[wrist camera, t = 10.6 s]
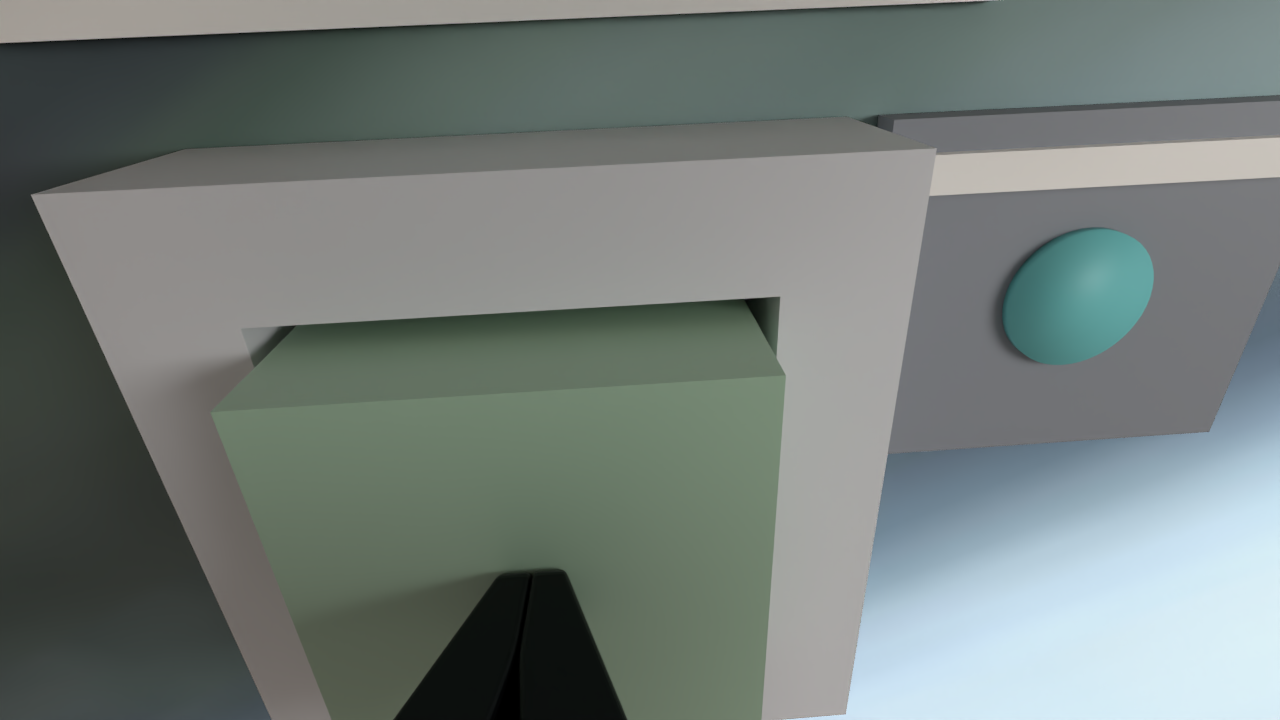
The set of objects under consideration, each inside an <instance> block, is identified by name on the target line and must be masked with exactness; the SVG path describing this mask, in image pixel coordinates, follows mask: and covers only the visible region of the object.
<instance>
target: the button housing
mask: <svg viewBox="0 0 1280 720" xmlns="http://www.w3.org/2000/svg"><path fill="white" fill-rule="evenodd" d="M936 151H937V148H934V147H932V146H929V145H926V144H923V143H920V142H917V141H915V140H912V139H909V138H906V137H903V136H900V135H898V134H895V133H892V132H889V131H886V130H883V129H881V128H878V127H875V126H872V125H869V124H866V123H864V122H861V121H858V120H855V119H852V118H849V117H828V118H808V119H787V120H767V121H747V122H726V123H706V124H686V125H665V126H645V127H625V128H604V129H584V130H564V131H543V132H523V133H502V134H482V135H462V136H441V137H421V138H401V139H380V140H360V141H340V142H319V143H299V144H279V145H258V146H238V147H218V148H197V149H184V150H180V151H177V152H174V153H170V154H167V155H164V156H160V157H157V158H153V159H150V160H147V161H143V162H140V163H136V164H133V165H130V166H126V167H123V168H120V169H116V170H113V171H109V172H106V173H103V174H99V175H96V176H93V177H89V178H86V179H82V180H79V181H76V182H72V183H69V184H65V185H62V186H59V187H55V188H52V189H49V190H45V191H42V192H38V193H35V194H32V195H31V196H32V199H33V201H34V203H35V205H36V207H37V209H38V212H39V214H40V216H41V218H42V220H43V223H44V225H45V227H46V229H47V231H48V233H49V236H50V238H51V240H52V242H53V244H54V246H55V249H56V251H57V253H58V255H59V257H60V260H61V262H62V264H63V266H64V268H65V270H66V273H67V275H68V277H69V279H70V281H71V283H72V286H73V288H74V290H75V292H76V294H77V297H78V299H79V301H80V303H81V305H82V307H83V310H84V312H85V314H86V316H87V318H88V321H89V323H90V325H91V327H92V329H93V331H94V334H95V336H96V338H97V340H98V342H99V344H100V347H101V349H102V351H103V353H104V355H105V358H106V360H107V362H108V364H109V366H110V368H111V371H112V373H113V375H114V377H115V379H116V382H117V384H118V386H119V388H120V390H121V392H122V395H123V397H124V399H125V401H126V403H127V405H128V408H129V410H130V412H131V414H132V416H133V419H134V421H135V423H136V425H137V427H138V429H139V432H140V434H141V436H142V438H143V440H144V442H145V445H146V447H147V449H148V451H149V453H150V456H151V458H152V460H153V462H154V464H155V466H156V469H157V471H158V473H159V475H160V477H161V480H162V482H163V484H164V486H165V488H166V490H167V493H168V495H169V497H170V499H171V501H172V503H173V506H174V508H175V510H176V512H177V514H178V517H179V519H180V521H181V523H182V525H183V527H184V530H185V532H186V534H187V536H188V538H189V541H190V543H191V545H192V547H193V549H194V551H195V554H196V556H197V558H198V560H199V562H200V564H201V567H202V569H203V571H204V573H205V575H206V578H207V580H208V582H209V584H210V586H211V588H212V591H213V593H214V595H215V597H216V599H217V601H218V604H219V606H220V608H221V610H222V612H223V615H224V617H225V619H226V621H227V623H228V625H229V628H230V630H231V632H232V634H233V636H234V639H235V641H236V643H237V645H238V647H239V649H240V652H241V654H242V656H243V658H244V660H245V662H246V665H247V667H248V669H249V671H250V673H251V676H252V678H253V680H254V682H255V684H256V686H257V689H258V691H259V693H260V695H261V697H262V699H263V702H264V704H265V706H266V708H267V710H268V713H269V715H270V717H271V719H272V720H331V717H330V715H329V712H328V710H327V707H326V705H325V702H324V700H323V697H322V694H321V692H320V689H319V687H318V684H317V682H316V679H315V677H314V674H313V672H312V669H311V667H310V664H309V662H308V659H307V656H306V654H305V651H304V649H303V646H302V644H301V641H300V639H299V636H298V634H297V631H296V629H295V626H294V623H293V621H292V618H291V616H290V613H289V611H288V608H287V606H286V603H285V601H284V598H283V596H282V593H281V591H280V588H279V585H278V583H277V580H276V578H275V575H274V573H273V570H272V568H271V565H270V563H269V560H268V558H267V555H266V553H265V550H264V547H263V545H262V542H261V540H260V537H259V535H258V532H257V530H256V527H255V525H254V522H253V520H252V517H251V515H250V512H249V509H248V507H247V504H246V502H245V499H244V497H243V494H242V492H241V489H240V487H239V484H238V482H237V479H236V476H235V474H234V471H233V469H232V466H231V464H230V461H229V459H228V456H227V454H226V451H225V449H224V446H223V444H222V441H221V438H220V436H219V433H218V431H217V428H216V426H215V423H214V421H213V418H212V416H211V413H210V412H211V411H212V410H213V409H214V408H215V407H216V406H217V405H218V404H219V403H220V402H221V401H222V400H223V399H224V398H225V397H226V396H227V395H228V394H229V393H230V392H231V391H232V390H233V389H234V388H235V387H236V386H237V385H238V384H239V383H240V382H241V381H242V380H243V379H244V378H245V377H246V376H247V375H248V374H249V373H250V372H251V371H252V370H253V369H254V368H255V367H256V366H257V365H258V364H259V363H260V362H261V361H262V360H263V359H264V358H265V357H266V356H267V355H268V354H269V353H270V352H271V351H272V350H273V349H274V348H275V347H276V346H277V345H278V344H279V343H280V342H281V341H282V340H283V339H284V338H285V337H286V336H287V335H288V334H289V333H290V332H291V331H292V330H293V329H294V328H295V327H296V326H297V325H309V324H325V323H342V322H359V321H376V320H393V319H410V318H427V317H444V316H461V315H477V314H494V313H511V312H528V311H545V310H562V309H579V308H596V307H613V306H629V305H646V304H663V303H680V302H697V301H714V300H731V299H744V300H745V302H746V304H747V305H748V307H749V309H750V311H751V313H752V315H753V316H754V318H755V320H756V322H757V324H758V325H759V327H760V329H761V331H762V333H763V335H764V336H765V338H766V340H767V342H768V344H769V345H770V347H771V349H772V351H773V353H774V355H775V356H776V358H777V360H778V362H779V364H780V365H781V367H782V369H783V371H784V373H785V375H786V382H785V396H784V410H783V424H782V438H781V452H780V466H779V480H778V494H777V508H776V523H775V537H774V551H773V565H772V579H771V593H770V607H769V621H768V635H767V649H766V663H765V677H764V691H763V705H762V719H761V720H782V719H794V718H806V717H818V716H830V715H842V714H846V709H847V702H848V696H849V690H850V684H851V678H852V671H853V665H854V659H855V653H856V647H857V640H858V634H859V628H860V622H861V616H862V609H863V603H864V597H865V591H866V585H867V578H868V572H869V566H870V560H871V554H872V547H873V541H874V535H875V529H876V523H877V516H878V510H879V504H880V498H881V492H882V485H883V479H884V473H885V467H886V461H887V454H888V448H889V442H890V436H891V430H892V423H893V417H894V411H895V405H896V399H897V392H898V386H899V380H900V374H901V368H902V361H903V355H904V349H905V343H906V337H907V330H908V324H909V318H910V312H911V306H912V299H913V293H914V287H915V281H916V275H917V268H918V262H919V256H920V250H921V244H922V237H923V231H924V225H925V219H926V213H927V206H928V200H929V194H930V188H931V182H932V175H933V169H934V163H935V157H936Z"/></svg>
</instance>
